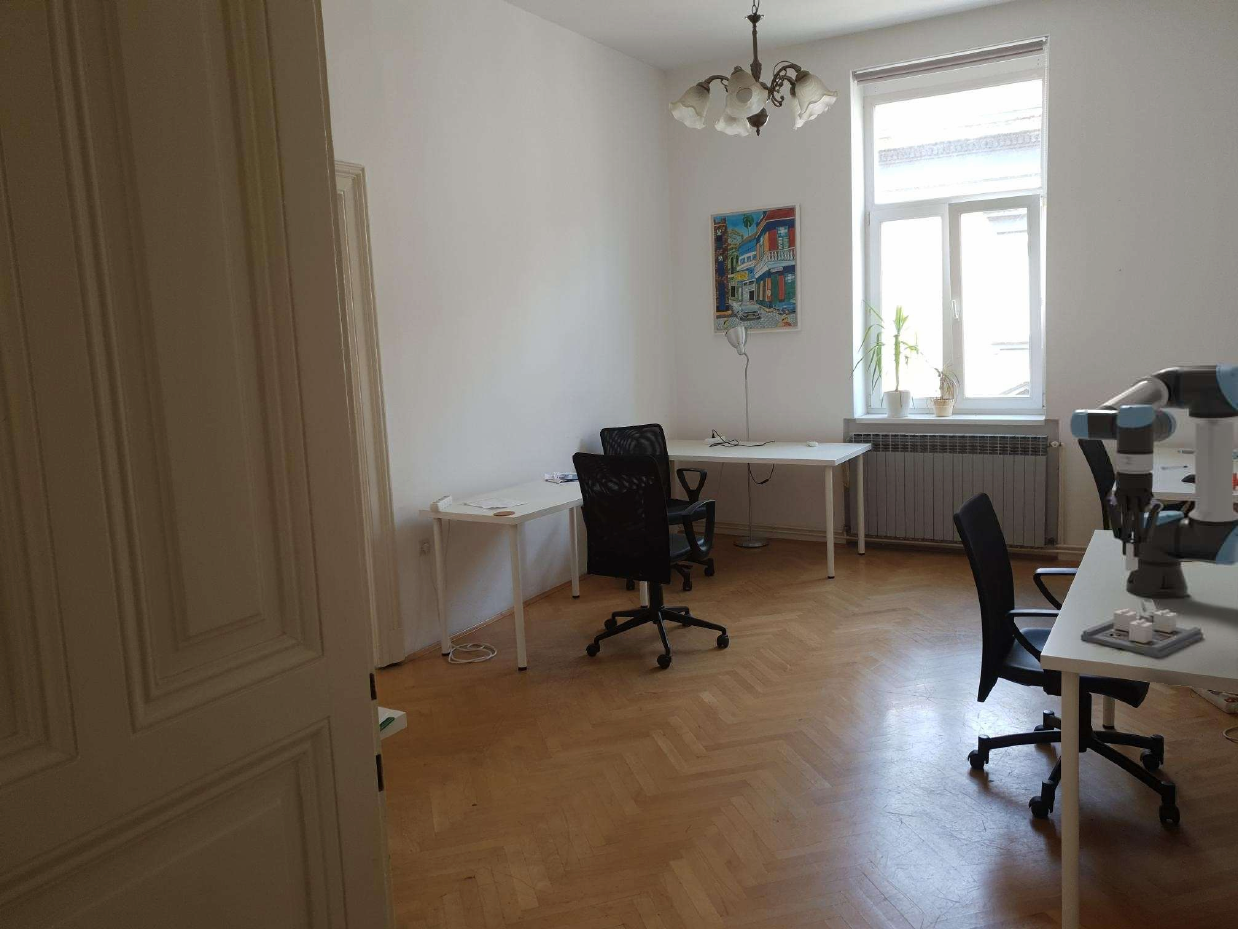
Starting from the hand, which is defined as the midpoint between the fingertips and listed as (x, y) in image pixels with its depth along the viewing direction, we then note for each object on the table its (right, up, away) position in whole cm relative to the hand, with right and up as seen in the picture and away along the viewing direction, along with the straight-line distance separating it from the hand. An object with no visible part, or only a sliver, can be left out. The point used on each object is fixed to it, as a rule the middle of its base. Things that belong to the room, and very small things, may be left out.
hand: (1131, 569), depth 211 cm
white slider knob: (+3, -15, +9) cm, 18 cm away
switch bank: (+6, -17, +5) cm, 19 cm away
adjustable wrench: (+18, -14, +22) cm, 32 cm away
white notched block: (+12, -15, +7) cm, 20 cm away
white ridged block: (+2, -17, 0) cm, 17 cm away
